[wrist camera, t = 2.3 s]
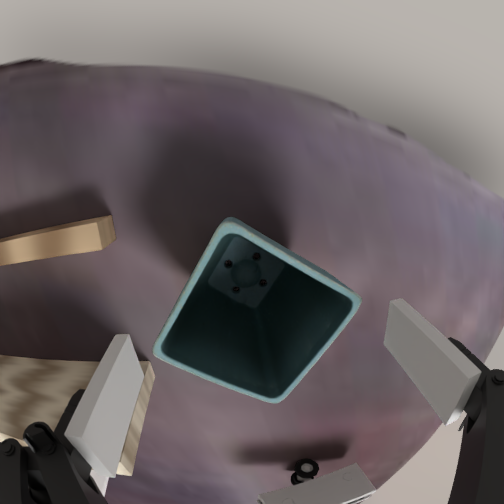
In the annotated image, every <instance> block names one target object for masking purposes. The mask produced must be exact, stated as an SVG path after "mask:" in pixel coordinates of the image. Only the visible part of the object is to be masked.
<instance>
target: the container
mask: <svg viewBox="0 0 504 504" xmlns="http://www.w3.org/2000/svg"><path fill="white" fill-rule="evenodd" d="M90 475H91V476H92V478H93V479H94V481H95V483H96V484H97V486H98V488H99V490H100V491H101V493H102V495H103V496H104V495H105V491H106V487H107V483H108V479H109V477H106V476H101V475H98V474H97V473H96V472H95V471H94V470H91V472H90Z"/></svg>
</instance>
